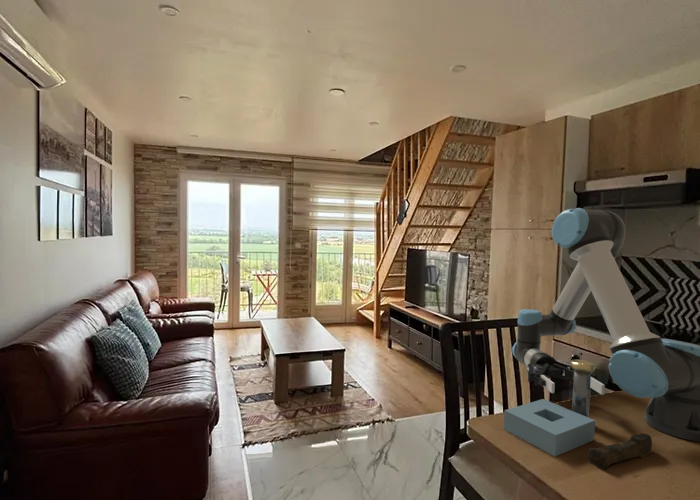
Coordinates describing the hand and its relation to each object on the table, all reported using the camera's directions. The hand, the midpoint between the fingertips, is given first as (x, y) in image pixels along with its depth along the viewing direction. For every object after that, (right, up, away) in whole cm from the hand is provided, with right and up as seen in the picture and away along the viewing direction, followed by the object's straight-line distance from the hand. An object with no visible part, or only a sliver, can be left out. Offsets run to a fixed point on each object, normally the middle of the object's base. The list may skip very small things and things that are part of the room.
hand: (578, 389), depth 107 cm
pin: (0, -9, -1) cm, 9 cm away
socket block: (-12, -9, -8) cm, 17 cm away
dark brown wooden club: (0, -10, -17) cm, 20 cm away
